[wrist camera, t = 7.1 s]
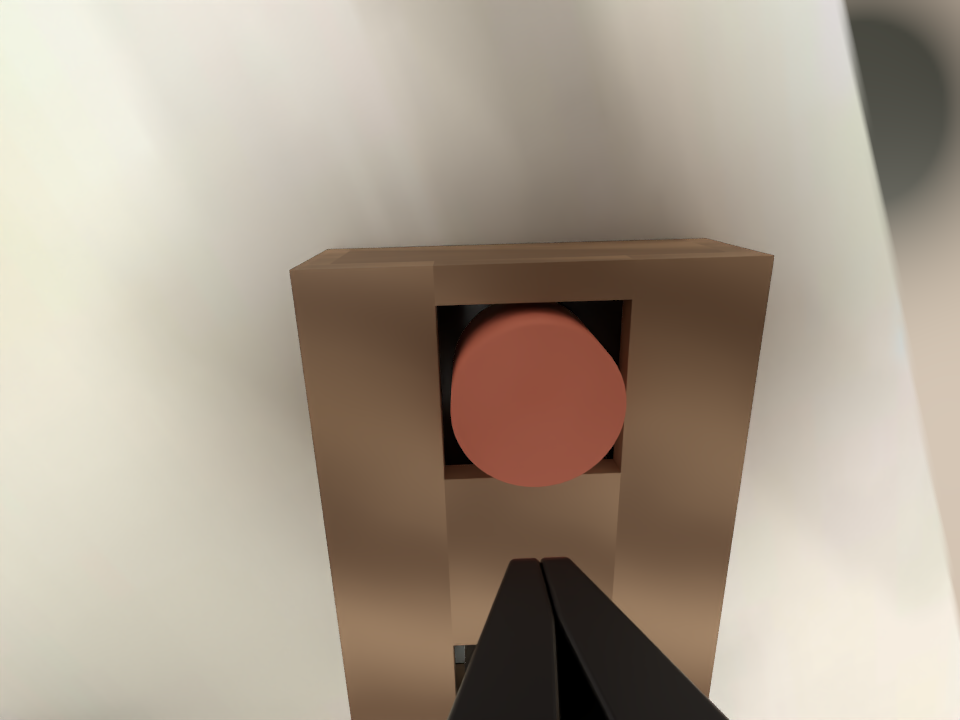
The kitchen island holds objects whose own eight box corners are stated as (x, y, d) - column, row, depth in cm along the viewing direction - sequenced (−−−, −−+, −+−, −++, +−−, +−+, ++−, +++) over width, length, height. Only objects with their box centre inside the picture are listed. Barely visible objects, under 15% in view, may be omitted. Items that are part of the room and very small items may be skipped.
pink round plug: (593, 429, 17) (621, 483, 14) (455, 435, 17) (453, 490, 14) (599, 294, 16) (632, 321, 13) (449, 298, 16) (446, 327, 13)
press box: (659, 668, 23) (698, 765, 19) (376, 682, 23) (360, 783, 19) (705, 238, 17) (773, 255, 14) (327, 249, 17) (289, 269, 13)
